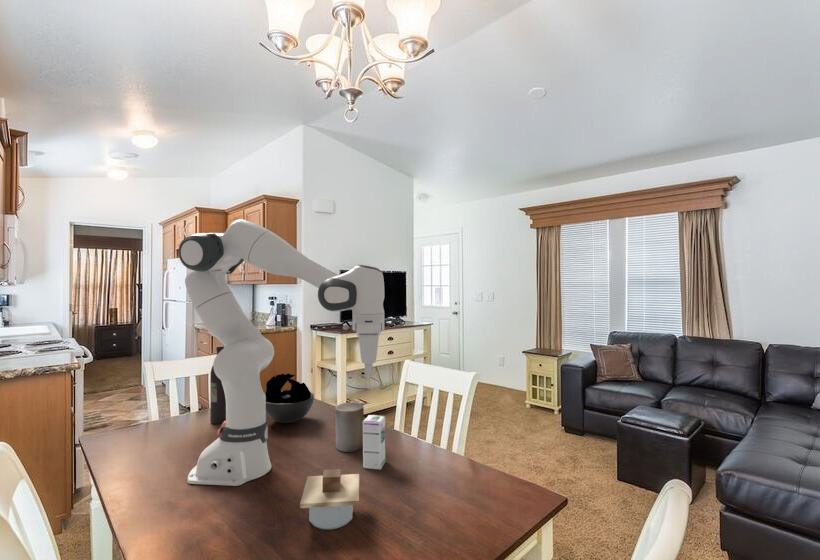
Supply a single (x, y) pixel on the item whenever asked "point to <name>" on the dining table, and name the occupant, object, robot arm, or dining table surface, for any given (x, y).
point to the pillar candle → (349, 426)
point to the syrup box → (374, 442)
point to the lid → (331, 490)
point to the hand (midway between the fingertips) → (368, 373)
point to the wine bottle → (217, 397)
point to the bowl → (330, 516)
